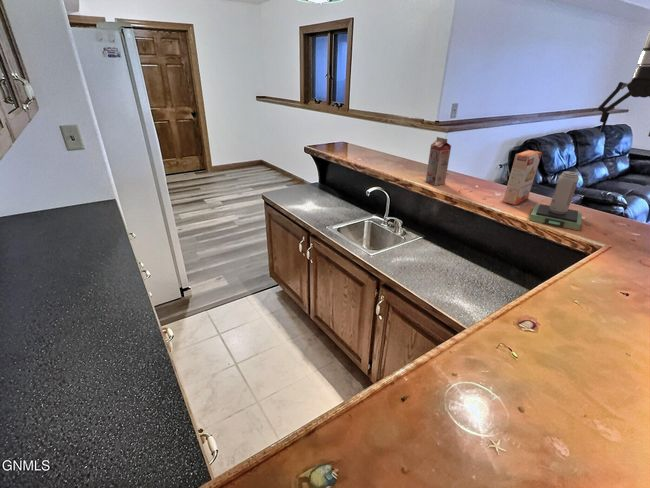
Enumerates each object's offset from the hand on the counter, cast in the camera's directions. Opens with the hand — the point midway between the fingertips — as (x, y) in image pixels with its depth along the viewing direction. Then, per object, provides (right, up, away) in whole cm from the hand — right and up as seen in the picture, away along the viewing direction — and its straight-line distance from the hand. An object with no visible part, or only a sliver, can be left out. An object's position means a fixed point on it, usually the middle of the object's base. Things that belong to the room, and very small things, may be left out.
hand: (624, 134), depth 122 cm
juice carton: (-50, -8, +54) cm, 74 cm away
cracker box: (-21, -20, +31) cm, 43 cm away
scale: (-17, -29, +12) cm, 36 cm away
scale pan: (-17, -27, +11) cm, 33 cm away
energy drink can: (-16, -26, +11) cm, 33 cm away
